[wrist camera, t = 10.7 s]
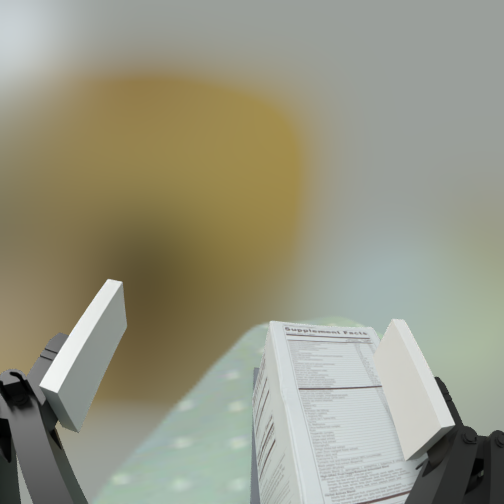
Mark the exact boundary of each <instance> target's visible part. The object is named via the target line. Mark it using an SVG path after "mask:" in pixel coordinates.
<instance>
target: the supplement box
mask: <svg viewBox="0 0 504 504" xmlns="http://www.w3.org/2000/svg"><path fill="white" fill-rule="evenodd" d="M380 342H381V340H380V338H379V337H378V335H377V334H376V332H375V331H374V329H373V328H372V327H333V326H318V325H305V324H296V323H286V322H279V321H270V323H269V328H268V333H267V337H266V342H265V347H264V351H263V356H262V360H261V364H260V369H259V373H258V377H257V381H256V385H255V389H254V393H253V397H252V406H253V420H254V433H255V445H256V457H257V469H258V482H259V493H260V504H404V503H405V501H406V499H407V497H408V495H409V493H410V491H411V489H412V487H413V485H414V483H415V481H416V479H417V477H418V474H419V471H420V470H421V468H422V466H421V467H420V468H419V469H418V470H415V468H416V467H417V466H418V465H419V464H420V463H422V462H423V461H424V460H425V459H426V458H428V455H427V452H426V453H425V454H424V455H423V456H421V457H420V458H419V459H415V460H409V461H405V459H404V455H403V452H402V448H401V445H400V441H399V438H398V434H397V431H396V428H395V425H394V421H393V418H392V415H391V412H390V409H389V405H388V402H387V399H386V396H385V393H384V390H383V387H382V384H381V381H380V379H379V376H378V373H377V370H376V367H375V364H374V361H373V359H372V356H373V355H374V353H375V351H376V349H377V347H378V346H379V344H380Z"/></svg>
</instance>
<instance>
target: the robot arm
mask: <svg viewBox="0 0 504 504" xmlns="http://www.w3.org/2000/svg"><path fill="white" fill-rule="evenodd" d="M126 327H127V323H126V315H125V305H124V295H123V283H122V282H119V281H114V280H110V279H108V280H107V281H106V283H105V284H104V285H103V287H102V288H101V290H100V291H99V293H98V294H97V295H96V297H95V298H94V300H93V301H92V302H91V304H90V305H89V307H88V308H87V310H86V311H85V313H84V314H83V316H82V317H81V319H80V320H79V322H78V323H77V325H76V326H75V328H74V329H73V331H72V332H71V334H70V335H66V334H63V333H58V334H57V335H56V336H54V337H53V338H52V339H50V341H49V342H48V344H47V345H46V347H45V350H43V352H42V353H41V354H40V357H39V358H38V359H37V361H36V362H35V364H34V365H33V367H32V368H31V370H30V372H29V374H28V375H27V377H26V376H25V374H24V373H23V372H22V371H20V370H17V369H9V370H6V371H4V372H3V373H1V374H0V504H21V501H20V500H21V499H20V492H19V483H18V472H17V458H16V453H17V457H18V460H19V464H20V467H21V470H22V473H23V477H24V479H25V483H26V485H27V488H28V491H29V494H30V496H31V499H32V501H33V504H88V502H87V500H86V498H85V496H84V494H83V492H82V490H81V488H80V486H79V484H78V482H77V479H76V477H75V475H74V473H73V471H72V468H71V466H70V464H69V461H68V459H67V456H66V454H65V451H64V449H63V446H62V443H61V441H60V438H59V435H58V432H57V430H56V428H55V425H56V423H57V421H58V420H59V422H60V424H61V425H62V427H64V428H67V429H69V430H72V431H75V432H77V433H79V432H80V429H81V427H82V424H83V422H84V419H85V417H86V414H87V412H88V410H89V407H90V405H91V402H92V400H93V398H94V396H95V393H96V391H97V389H98V387H99V384H100V382H101V380H102V378H103V375H104V373H105V371H106V369H107V367H108V365H109V362H110V360H111V358H112V356H113V354H114V352H115V349H116V347H117V346H118V343H119V341H120V339H121V337H122V335H123V333H124V331H125V329H126ZM372 359H373V361H374V364H375V367H376V370H377V373H378V376H379V379H380V381H381V384H382V387H383V390H384V393H385V396H386V399H387V402H388V405H389V409H390V412H391V415H392V418H393V421H394V425H395V428H396V431H397V434H398V438H399V441H400V445H401V448H402V452H403V455H404V459H405V461H409V460H415V459H419V458H420V457H421V456H423V455H424V454H425V453H426V452H427V455H428V458H426V459H425V460H424V461H423V462H422V463H420V464H419V465H418V466H417V467H416V468H415V470H418V469H419V468H420V467H421V466H422V468H421V470H420V471H419V474H418V477H417V479H416V481H415V483H414V485H413V487H412V489H411V491H410V493H409V495H408V497H407V499H406V501H405V503H404V504H504V432H502V431H499V430H496V431H494V432H492V433H491V434H490V435H489V436H488V437H486V436H478V435H477V433H476V432H475V430H473V429H472V428H471V427H468V426H464V425H463V423H462V420H461V418H460V416H459V414H458V411H457V409H456V407H455V405H454V403H453V402H452V398H451V396H450V395H449V392H448V390H447V388H446V386H445V384H444V383H443V382H442V381H441V380H440V378H439V377H434V376H433V374H432V372H431V370H430V368H429V366H428V364H427V362H426V360H425V358H424V356H423V354H422V353H421V350H420V348H419V346H418V344H417V343H416V341H415V339H414V337H413V335H412V333H411V332H410V329H409V327H408V326H407V324H406V322H405V320H399V319H392V320H391V323H390V324H389V326H388V328H387V330H386V333H385V334H384V336H383V338H382V340H381V342H380V344H379V346H378V347H377V349H376V351H375V353H374V355H373V356H372ZM482 470H484V475H483V476H481V471H482Z"/></svg>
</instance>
